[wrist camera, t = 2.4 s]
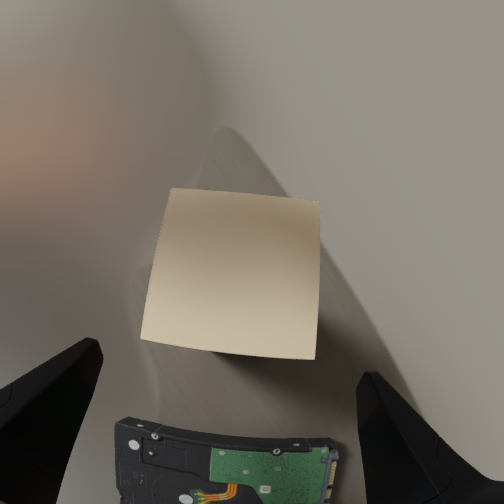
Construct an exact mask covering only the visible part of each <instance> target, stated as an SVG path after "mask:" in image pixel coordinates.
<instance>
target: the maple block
mask: <svg viewBox="0 0 504 504" xmlns="http://www.w3.org/2000/svg"><path fill="white" fill-rule="evenodd" d="M319 274H320V202H317V201H310V200H302V199H294V198H285V197H276V196H267V195H257V194H246V193H235V192H223V191H210V190H196V189H179V188H172V189H171V192H170V195H169V199H168V203H167V207H166V210H165V214H164V219H163V223H162V227H161V231H160V235H159V239H158V244H157V248H156V253H155V257H154V262H153V267H152V272H151V277H150V282H149V287H148V293H147V299H146V304H145V310H144V317H143V323H142V330H141V337H140V339H144V340H149V341H154V342H159V343H165V344H170V345H176V346H182V347H188V348H194V349H201V350H208V351H215V352H223V353H232V354H241V355H250V356H261V357H274V358H288V359H308V360H315V349H316V336H317V320H318V301H319Z"/></svg>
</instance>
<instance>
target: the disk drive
mask: <svg viewBox="0 0 504 504" xmlns="http://www.w3.org/2000/svg"><path fill="white" fill-rule="evenodd" d="M114 431H115V432H114V433H115V434H114V436H115V437H114V438H115V472H116V473H115V474H116V486H117V487H116V488H117V489H118V490H119V493H120V495H121V496H122V497H121V498H120V501H121V502H120V504H330V502H329V500H328V499H329V498H330V496H331V491H332V488H331V486H332V485H333V481H334V476H335V470H336V465H337V461H336V459H339V456H338V453H339V452H338V451H337V449H338V445H337V443H336V442H335V441H333V440H332V439H331V438H308V439H305V438H288V439H273V438H251V437H238V436H228V435H220V434H212V433H204V432H197V431H190V430H185V429H179V428H174V427H169V426H164V425H162V424H158V423H155V422H149V421H145V420H141V419H138V418H132V417H127V418H124V419H122V420H120V421H118V422H116V423H115V427H114Z"/></svg>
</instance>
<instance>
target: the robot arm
mask: <svg viewBox="0 0 504 504" xmlns="http://www.w3.org/2000/svg"><path fill="white" fill-rule="evenodd" d="M102 364H103V354H102V351H101V348H100V345H99V342H98V341H97V340H96V339H93V338H89V337H87V338H84V339H83V340H81V341H79V342H78V343H76V344H74V345H73V346H71V347H69V348H68V349H66V350H64V351H63V352H61V353H59V354H58V355H56V356H54V357H53V358H51V359H49V360H48V361H46V362H45V363H43V364H41V365H39V366H38V367H36V368H34V369H33V370H31V371H30V372H28V373H26V374H25V375H23V376H21V377H20V378H18V379H16V380H15V381H14V382H12V383H10V384H8V385H7V386H5V387H3V388H1V389H0V504H56V501H57V498H58V494H59V490H60V487H61V483H62V480H63V477H64V473H65V470H66V467H67V464H68V461H69V457H70V455H71V452H72V449H73V446H74V443H75V440H76V438H77V435H78V432H79V429H80V427H81V424H82V422H83V419H84V416H85V414H86V411H87V409H88V406H89V404H90V402H91V399H92V396H93V393H94V390H95V386H96V383H97V380H98V376H99V373H100V370H101V367H102ZM356 400H357V420H358V434H359V441H360V447H361V455H362V462H363V470H364V478H365V488H366V498H367V504H504V481H495V480H491V479H489V478H487V477H485V476H483V475H482V474H481V473H480V472H478V471H477V470H476V469H475V468H474V467H472V466H471V465H470V464H469V463H467V462H466V461H465V460H464V459H463V458H462V457H461V456H459V455H458V454H457V453H456V452H455V451H454V450H453V449H452V448H451V447H450V446H449V445H448V444H447V443H445V441H444V440H443V439H442V438H441V437H439V435H438V434H437V433H436V432H435V431H434V430H433V429H432V428H431V427H430V425H429V424H428V423H427V422H426V421H425V420H424V419H423V418H422V417H421V416H420V415H419V414H418V413H417V412H416V411H415V410H414V409H413V408H412V407H411V406H410V405H409V404H408V403H407V401H406V400H405V399H404V398H403V397H402V396H401V395H400V394H399V393H398V392H397V391H396V390H395V389H394V388H393V387H392V386H391V385H390V384H389V383H388V382H387V381H386V380H385V379H384V378H383V377H382V376H381V375H380V373H378V372H377V371H366V372H365V373H364V374H363V376H362V378H361V380H360V382H359V384H358V385H357V388H356Z"/></svg>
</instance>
